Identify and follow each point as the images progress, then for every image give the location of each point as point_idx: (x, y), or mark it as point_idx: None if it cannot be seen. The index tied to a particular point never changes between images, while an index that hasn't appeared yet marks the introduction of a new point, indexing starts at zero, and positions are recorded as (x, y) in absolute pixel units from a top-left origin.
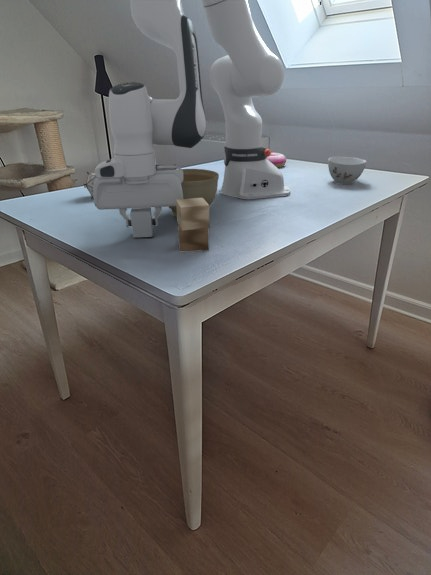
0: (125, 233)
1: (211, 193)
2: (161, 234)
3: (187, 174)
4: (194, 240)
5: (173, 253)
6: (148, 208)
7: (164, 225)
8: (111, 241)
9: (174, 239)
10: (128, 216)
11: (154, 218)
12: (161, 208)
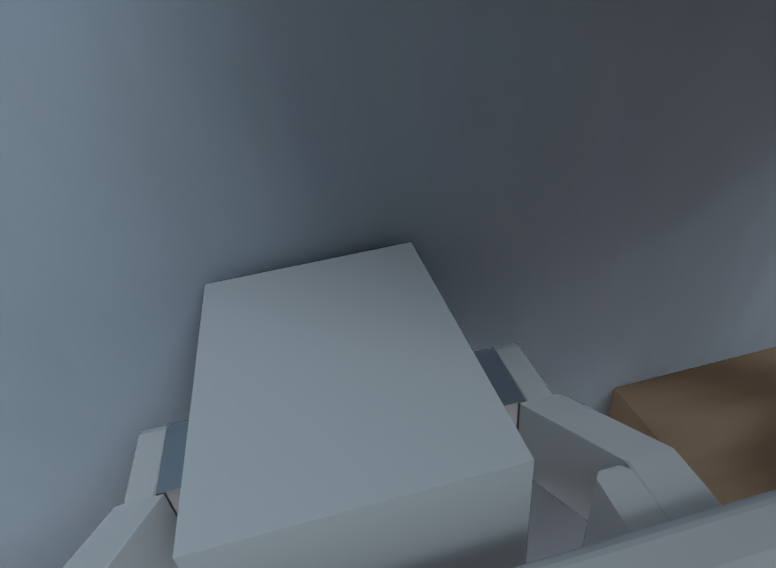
0: (107, 316)
1: None
2: (490, 296)
3: None
4: None
5: (556, 528)
6: (496, 546)
7: (523, 15)
8: (75, 488)
9: (585, 373)
10: (154, 505)
11: None
12: (676, 462)
